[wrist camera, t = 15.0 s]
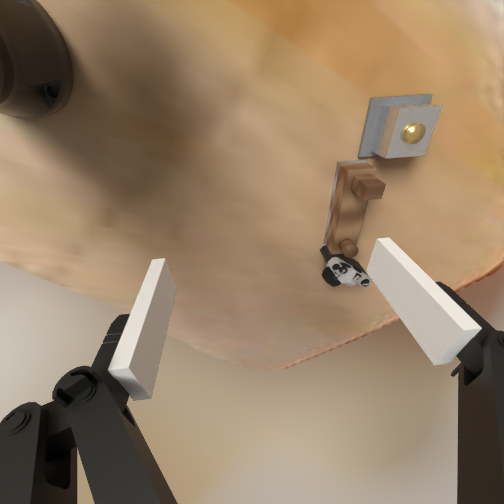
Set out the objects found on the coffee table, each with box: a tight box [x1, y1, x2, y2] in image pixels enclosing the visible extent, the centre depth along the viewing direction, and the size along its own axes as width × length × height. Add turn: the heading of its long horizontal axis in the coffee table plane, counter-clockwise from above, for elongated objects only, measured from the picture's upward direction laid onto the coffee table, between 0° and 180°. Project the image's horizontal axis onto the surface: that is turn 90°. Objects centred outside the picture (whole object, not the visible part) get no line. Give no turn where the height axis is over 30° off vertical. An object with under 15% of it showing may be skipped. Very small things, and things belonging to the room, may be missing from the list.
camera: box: [320, 245, 371, 287], centre depth 55 cm, size 13×8×9 cm, turn 59°
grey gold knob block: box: [370, 103, 443, 159], centre depth 38 cm, size 6×7×6 cm
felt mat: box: [358, 94, 433, 157], centre depth 40 cm, size 10×9×1 cm
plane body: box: [324, 160, 386, 258], centre depth 45 cm, size 19×5×10 cm, turn 3°
